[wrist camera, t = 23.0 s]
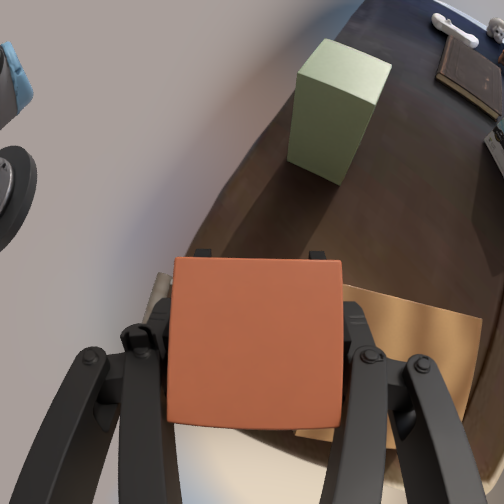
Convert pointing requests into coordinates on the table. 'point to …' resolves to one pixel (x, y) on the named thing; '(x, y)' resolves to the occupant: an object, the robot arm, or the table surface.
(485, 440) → the table surface
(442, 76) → the hardcover book
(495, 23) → the toy rhinoceros
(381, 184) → the table surface
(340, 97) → the stand
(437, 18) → the game controller
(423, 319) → the cabinet
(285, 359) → the block
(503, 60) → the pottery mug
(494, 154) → the tea box
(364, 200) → the table surface
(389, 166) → the table surface
